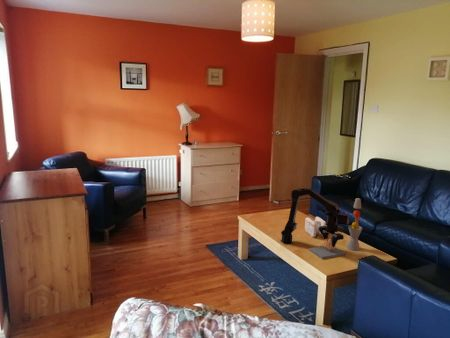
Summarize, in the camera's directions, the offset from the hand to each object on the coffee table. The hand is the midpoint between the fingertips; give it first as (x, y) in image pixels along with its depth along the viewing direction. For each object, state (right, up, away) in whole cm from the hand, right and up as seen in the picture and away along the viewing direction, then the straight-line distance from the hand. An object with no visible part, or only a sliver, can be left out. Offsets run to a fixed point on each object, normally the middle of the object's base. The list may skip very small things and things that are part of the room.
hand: (329, 244), depth 231 cm
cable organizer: (-2, +1, +32) cm, 32 cm away
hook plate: (-2, -5, 0) cm, 6 cm away
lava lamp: (+19, -4, +8) cm, 21 cm away
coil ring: (0, -1, 0) cm, 1 cm away
